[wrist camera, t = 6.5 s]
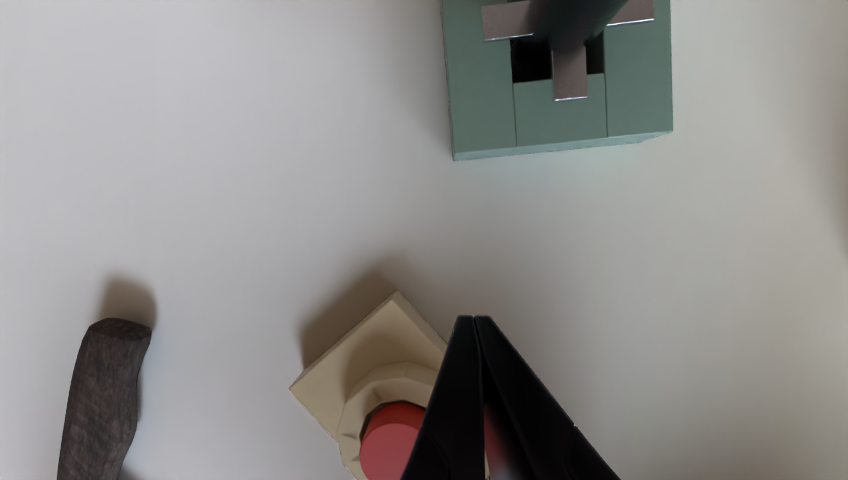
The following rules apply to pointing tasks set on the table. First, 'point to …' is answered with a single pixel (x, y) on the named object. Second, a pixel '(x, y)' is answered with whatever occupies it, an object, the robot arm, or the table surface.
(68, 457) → the cleaver
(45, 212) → the table surface
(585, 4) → the black flanged tube
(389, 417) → the button
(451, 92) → the green square frame
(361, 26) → the table surface
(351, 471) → the panel
